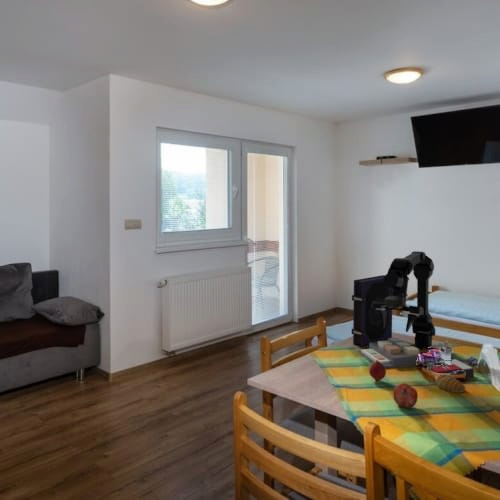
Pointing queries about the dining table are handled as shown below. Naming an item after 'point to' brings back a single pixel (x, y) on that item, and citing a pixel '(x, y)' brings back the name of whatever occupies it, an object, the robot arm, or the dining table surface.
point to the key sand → (411, 350)
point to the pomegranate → (405, 395)
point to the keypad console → (388, 357)
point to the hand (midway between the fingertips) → (394, 330)
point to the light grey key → (383, 344)
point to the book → (370, 311)
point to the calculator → (454, 368)
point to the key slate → (394, 340)
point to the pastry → (450, 384)
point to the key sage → (402, 345)
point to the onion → (377, 371)
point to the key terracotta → (392, 349)
